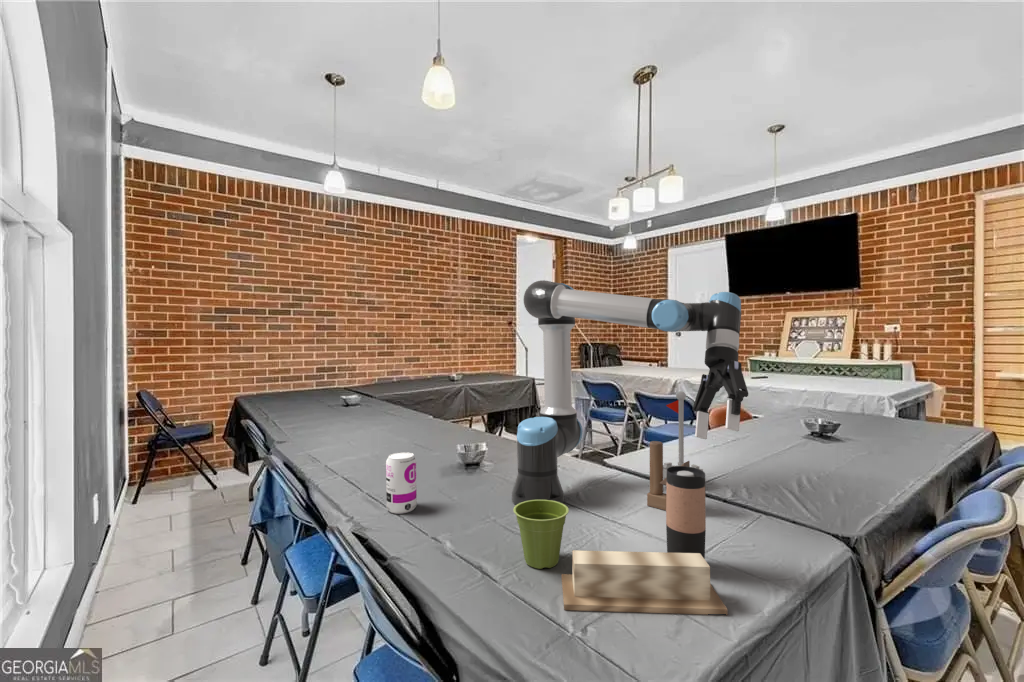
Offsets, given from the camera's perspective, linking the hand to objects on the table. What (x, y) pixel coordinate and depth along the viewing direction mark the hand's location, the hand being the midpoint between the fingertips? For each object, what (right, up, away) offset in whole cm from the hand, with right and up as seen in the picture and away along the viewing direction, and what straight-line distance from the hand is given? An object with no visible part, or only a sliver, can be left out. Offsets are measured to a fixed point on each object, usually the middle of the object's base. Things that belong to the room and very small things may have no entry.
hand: (715, 434), depth 105 cm
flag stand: (+7, -25, +40) cm, 47 cm away
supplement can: (-78, -26, +21) cm, 85 cm away
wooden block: (-4, -25, +19) cm, 32 cm away
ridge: (-24, -26, -22) cm, 41 cm away
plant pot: (-41, -26, -8) cm, 49 cm away
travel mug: (-11, -25, -11) cm, 30 cm away
